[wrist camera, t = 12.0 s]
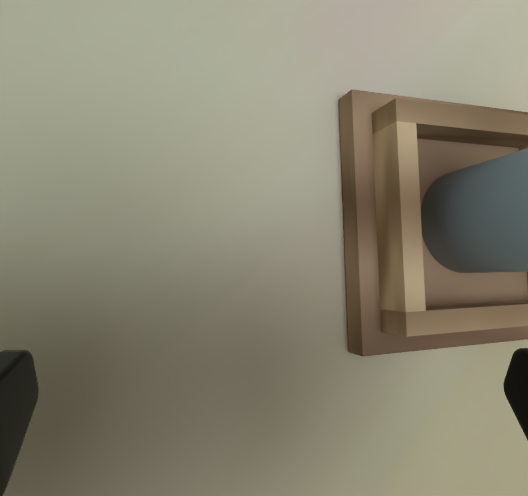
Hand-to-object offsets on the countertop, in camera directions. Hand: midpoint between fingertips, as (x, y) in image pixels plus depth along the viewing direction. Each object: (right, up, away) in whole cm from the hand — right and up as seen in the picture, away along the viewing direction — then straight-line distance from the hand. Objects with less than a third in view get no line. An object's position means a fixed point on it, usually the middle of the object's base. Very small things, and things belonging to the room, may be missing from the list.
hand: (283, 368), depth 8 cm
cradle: (+9, +3, +14) cm, 17 cm away
